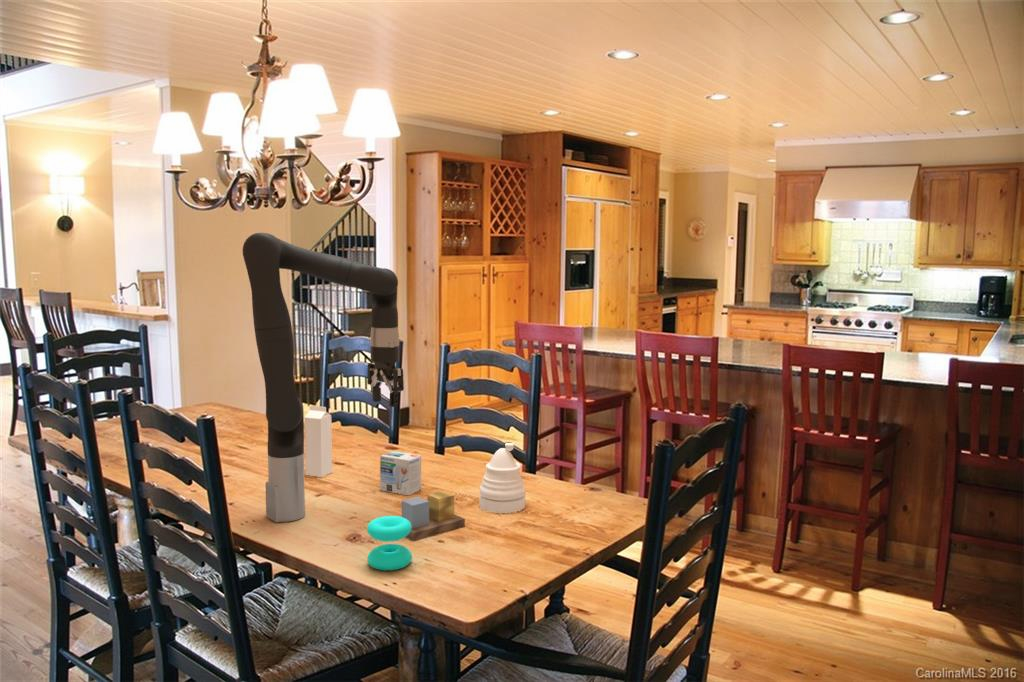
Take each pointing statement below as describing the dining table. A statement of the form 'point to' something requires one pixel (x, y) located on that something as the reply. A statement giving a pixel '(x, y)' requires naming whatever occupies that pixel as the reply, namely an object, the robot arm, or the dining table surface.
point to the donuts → (389, 553)
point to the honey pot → (502, 484)
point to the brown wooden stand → (438, 516)
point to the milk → (318, 442)
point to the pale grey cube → (416, 511)
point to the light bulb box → (400, 473)
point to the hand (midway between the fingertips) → (385, 403)
